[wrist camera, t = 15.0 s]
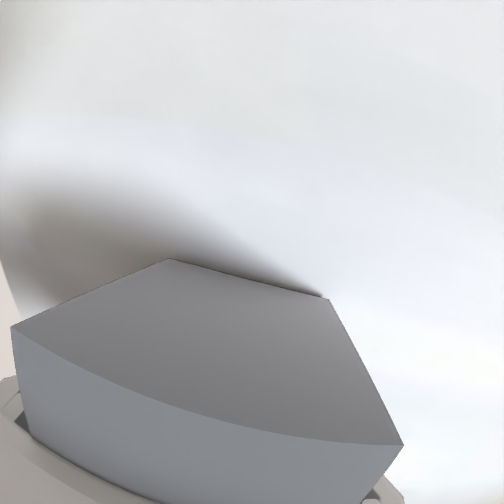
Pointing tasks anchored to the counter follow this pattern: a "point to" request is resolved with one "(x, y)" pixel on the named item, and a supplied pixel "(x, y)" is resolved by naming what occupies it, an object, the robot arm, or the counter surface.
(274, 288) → the block
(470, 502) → the counter surface
